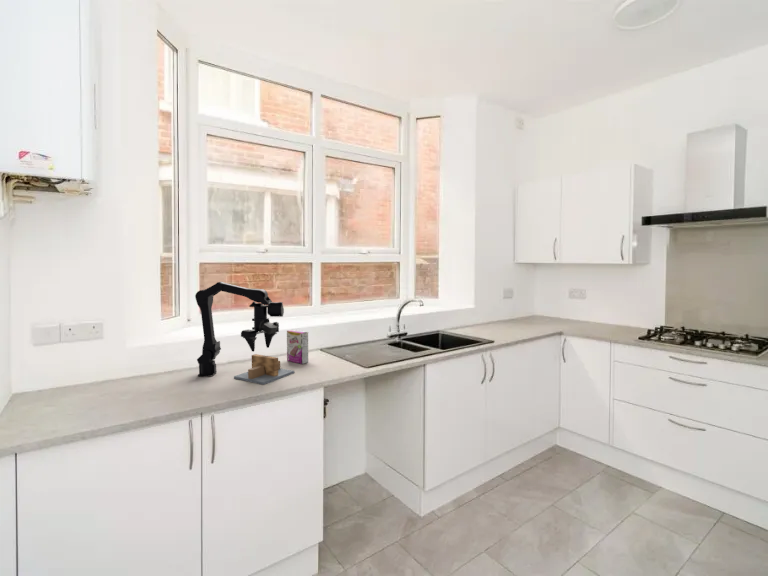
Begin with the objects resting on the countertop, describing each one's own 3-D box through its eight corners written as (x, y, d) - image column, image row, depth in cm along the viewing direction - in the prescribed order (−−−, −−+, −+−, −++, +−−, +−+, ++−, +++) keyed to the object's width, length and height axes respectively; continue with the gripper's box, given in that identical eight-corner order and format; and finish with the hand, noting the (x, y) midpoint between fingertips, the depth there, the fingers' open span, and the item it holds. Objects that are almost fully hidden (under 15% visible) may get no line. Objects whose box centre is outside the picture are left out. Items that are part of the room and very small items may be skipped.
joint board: (263, 384, 174) (263, 373, 173) (234, 378, 182) (233, 367, 181) (294, 372, 191) (294, 362, 191) (265, 367, 200) (265, 357, 199)
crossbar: (251, 371, 189) (251, 355, 188) (255, 370, 191) (255, 354, 190) (274, 376, 182) (274, 358, 182) (278, 374, 184) (278, 357, 184)
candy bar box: (286, 361, 212) (286, 330, 211) (293, 359, 216) (293, 329, 215) (302, 364, 206) (301, 332, 205) (308, 362, 210) (308, 331, 209)
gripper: (258, 320, 175) (258, 356, 176) (287, 315, 191) (287, 347, 192) (239, 318, 180) (240, 352, 181) (270, 313, 196) (270, 345, 198)
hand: (260, 349), depth 188 cm, fingers open, 9 cm apart
